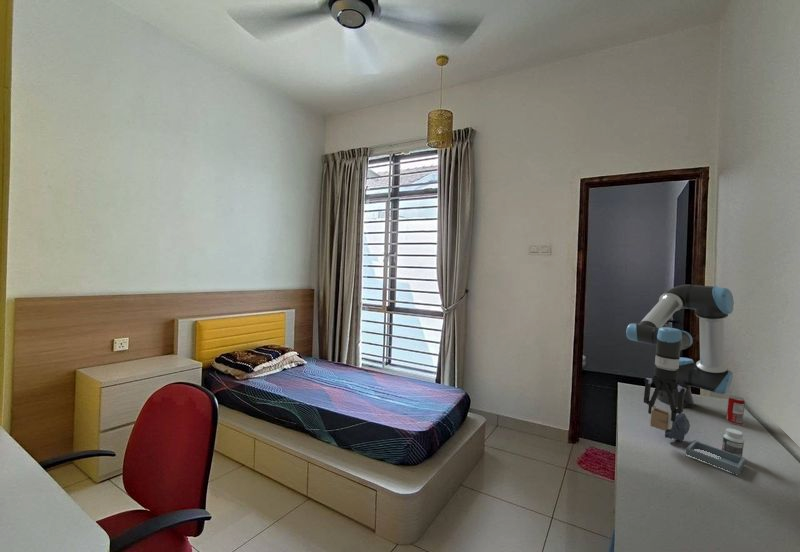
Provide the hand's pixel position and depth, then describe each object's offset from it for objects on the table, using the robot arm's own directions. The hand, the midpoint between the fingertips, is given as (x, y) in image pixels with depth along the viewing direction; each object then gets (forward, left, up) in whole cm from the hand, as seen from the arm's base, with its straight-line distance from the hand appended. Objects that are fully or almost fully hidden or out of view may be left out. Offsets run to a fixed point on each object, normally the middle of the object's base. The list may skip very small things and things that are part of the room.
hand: (660, 425), depth 141 cm
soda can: (-56, +13, -8) cm, 58 cm away
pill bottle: (-15, +19, -8) cm, 25 cm away
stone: (-12, +2, -8) cm, 15 cm away
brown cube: (0, 0, 0) cm, 1 cm away
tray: (-5, +16, -8) cm, 19 cm away
